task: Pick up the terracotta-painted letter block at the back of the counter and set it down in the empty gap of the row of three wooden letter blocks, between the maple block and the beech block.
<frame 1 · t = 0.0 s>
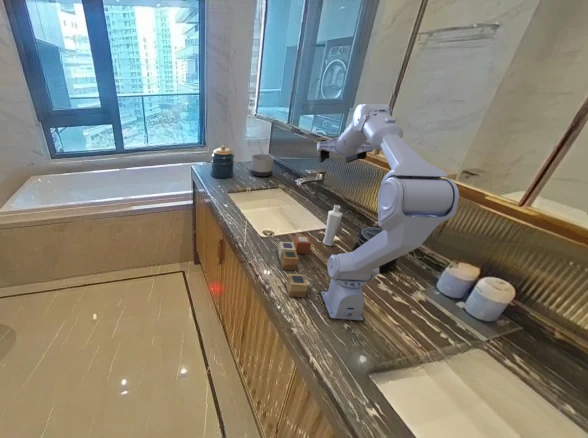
hand: (333, 159, 86), 32 cm above the worktop, tool tilted 50°, fingers open, 7 cm apart
maple block: (295, 291, 82), on the worktop
container: (371, 261, 94), on the worktop
terracotta block: (300, 250, 100), on the worktop
beech block: (288, 265, 92), on the worktop
canister: (222, 175, 169), on the worktop
cream block: (285, 256, 97), on the worktop
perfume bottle: (328, 243, 104), on the worktop
planter: (260, 174, 169), on the worktop
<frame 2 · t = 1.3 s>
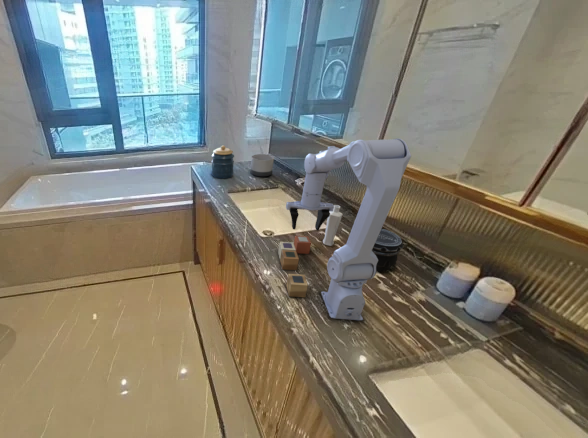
hand: (305, 228, 96), 9 cm above the worktop, tool pointing down, fingers open, 7 cm apart
nothing on the worktop moved.
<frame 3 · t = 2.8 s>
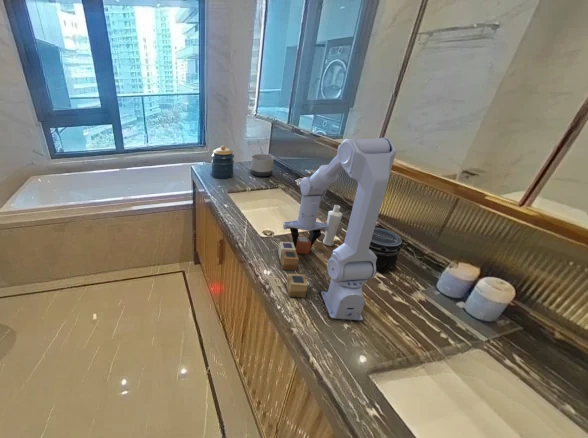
hand: (301, 246, 100), 1 cm above the worktop, tool pointing down, fingers closed on terracotta block, 4 cm apart
terracotta block: (300, 250, 100), on the worktop, touching gripper
everything else where it was.
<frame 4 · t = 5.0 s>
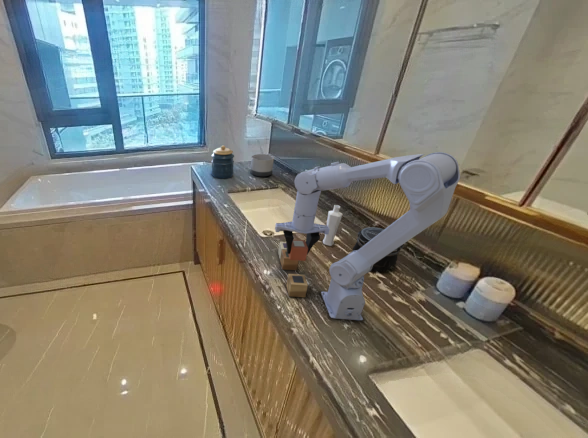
hand: (297, 252, 85), 8 cm above the worktop, tool pointing down, fingers closed on terracotta block, 4 cm apart
terracotta block: (296, 256, 85), point 7 cm above the worktop, touching gripper
everything else where it was.
when the fingers open (1 cm above the worktop, at t = 7.3 s): terracotta block stays where it is, on the worktop.
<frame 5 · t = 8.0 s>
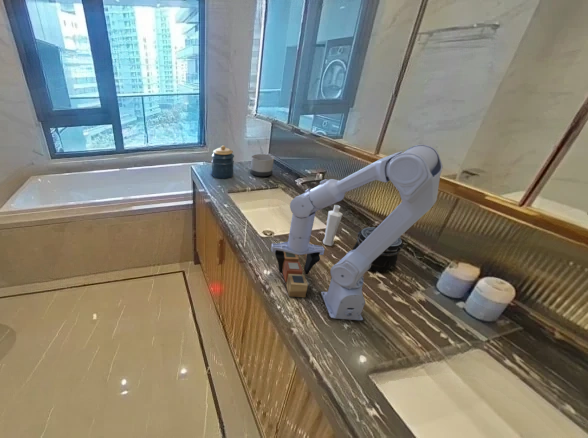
hand: (292, 271, 86), 2 cm above the worktop, tool pointing down, fingers open, 7 cm apart
terracotta block: (291, 277, 87), on the worktop
everything else where it was.
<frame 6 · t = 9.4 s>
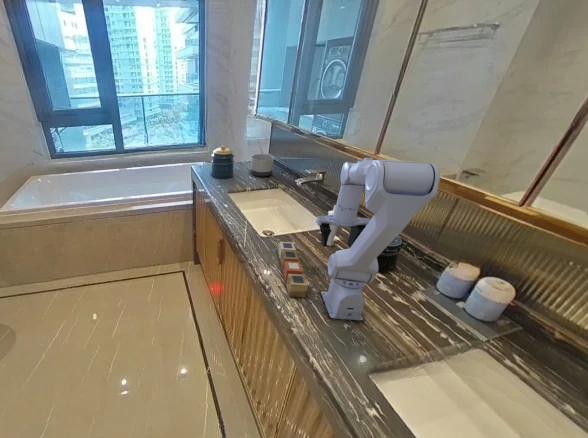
hand: (336, 245, 86), 9 cm above the worktop, tool pointing down, fingers open, 7 cm apart
nothing on the worktop moved.
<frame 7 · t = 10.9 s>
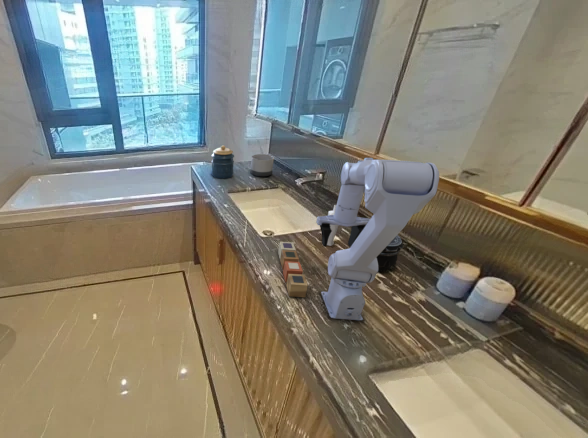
hand: (337, 245, 86), 9 cm above the worktop, tool pointing down, fingers open, 7 cm apart
nothing on the worktop moved.
at the end: terracotta block 0.1 cm from the target spot on the worktop beside the maple block, on the worktop; terracotta block tilted 0°; beech block moved 0.0 cm from its start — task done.
